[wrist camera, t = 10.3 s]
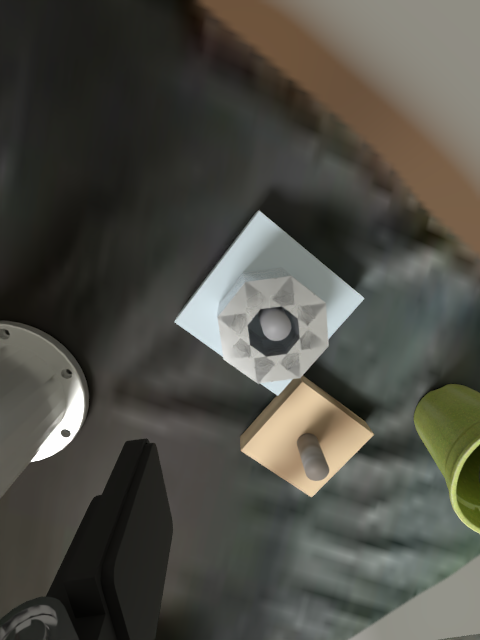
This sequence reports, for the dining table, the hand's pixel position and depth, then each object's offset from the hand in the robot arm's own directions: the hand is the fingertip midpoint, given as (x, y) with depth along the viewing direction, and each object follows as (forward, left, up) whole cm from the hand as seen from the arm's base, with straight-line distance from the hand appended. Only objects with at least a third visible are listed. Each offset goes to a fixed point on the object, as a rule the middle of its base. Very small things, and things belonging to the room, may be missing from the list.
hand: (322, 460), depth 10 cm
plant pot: (+20, +2, -20) cm, 28 cm away
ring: (0, 0, -17) cm, 17 cm away
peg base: (0, 0, -19) cm, 19 cm away
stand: (+10, -7, -19) cm, 23 cm away
